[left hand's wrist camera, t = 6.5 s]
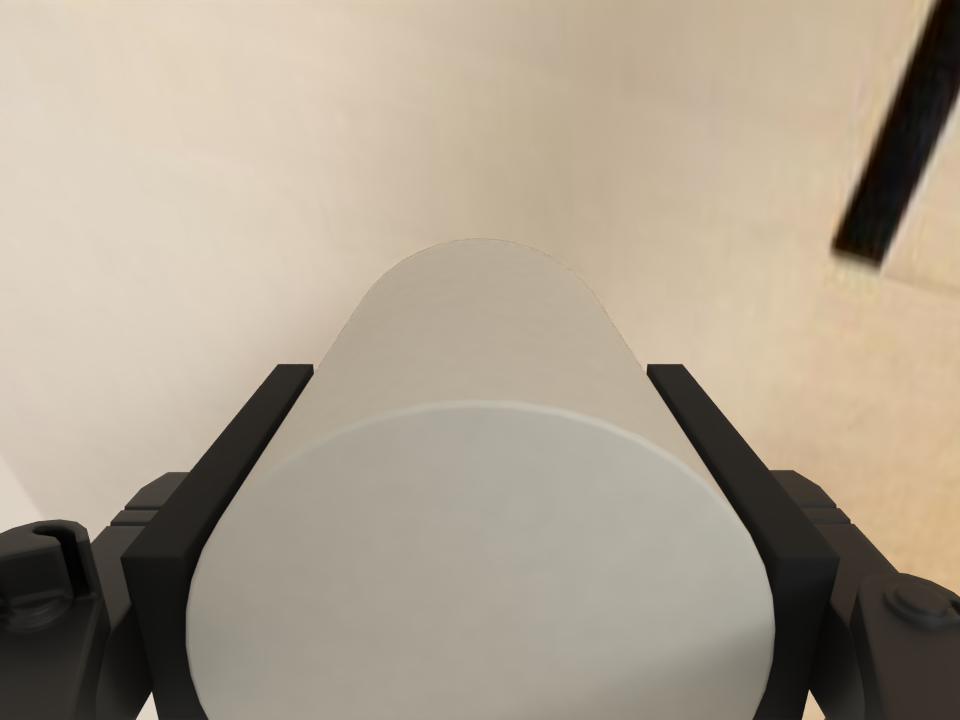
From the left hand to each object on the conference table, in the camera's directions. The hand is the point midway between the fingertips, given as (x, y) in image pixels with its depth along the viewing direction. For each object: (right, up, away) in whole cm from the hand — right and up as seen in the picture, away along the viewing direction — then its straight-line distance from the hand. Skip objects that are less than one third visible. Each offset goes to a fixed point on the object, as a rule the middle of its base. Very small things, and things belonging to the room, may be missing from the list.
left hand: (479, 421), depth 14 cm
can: (0, +1, +3) cm, 3 cm away
